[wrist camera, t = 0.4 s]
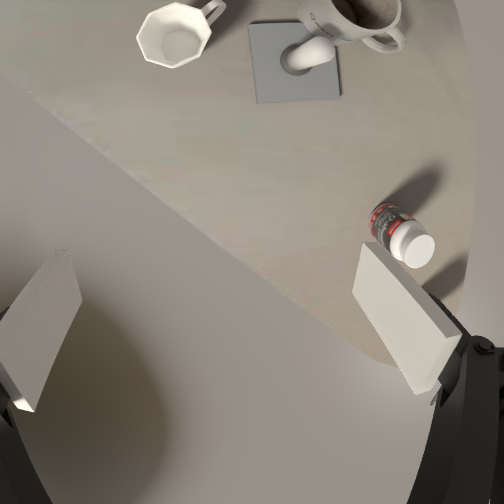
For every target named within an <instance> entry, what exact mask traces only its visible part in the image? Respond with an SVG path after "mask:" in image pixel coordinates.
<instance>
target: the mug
mask: <svg viewBox="0 0 504 504" xmlns="http://www.w3.org/2000/svg"><path fill="white" fill-rule="evenodd" d="M297 13H298V19H299V21H300V23H304V25H305V26H306V28H307V29H308V30H309V31H310V32H311V33H312V34H313V35H314V36H315V37H318V36H322V37H326V38H328V39H329V40H330V41H331V42H332V43H333V44H334V46H343V45H347V44H349V43H352V42H355V41H358V40H362V41H363V42H364V43H365V44H366V45H368V46H369V47H370V48H372V49H374V50H376V51H378V52H381V53H386V54H396V53H399V52H401V51H402V50H403V49H404V47H405V46H406V44H407V43H406V39H405V36H404V35H403V34H402V33H401V32H400V30H399V29H398V28H396V27H395V25H396V24H397V23H398V21H399V19H400V16H401V2H400V0H300V1H299V4H298V10H297ZM384 32H387V33H388V34H389V35H390V36H392V37H393V38H394V40H395V41H396V42H397V45H385V44H383V43H380V42H378V41H376V40H375V39H374V38H372V37H371V36H374V35H377V34H381V33H384Z"/></svg>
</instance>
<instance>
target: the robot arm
mask: <svg viewBox="0 0 504 504" xmlns="http://www.w3.org/2000/svg"><path fill="white" fill-rule="evenodd" d="M352 294H353V295H354V297H355V298H356V300H357V301H358V303H359V304H360V306H361V308H362V309H363V311H364V312H365V314H366V315H367V317H368V318H369V320H370V322H371V323H372V325H373V326H374V328H375V329H376V331H377V333H378V334H379V336H380V337H381V339H382V341H383V342H384V344H385V346H386V347H387V349H388V350H389V352H390V354H391V355H392V357H393V359H394V360H395V362H396V364H397V365H398V367H399V369H400V370H401V372H402V374H403V375H404V377H405V379H406V380H407V382H408V384H409V386H410V387H411V389H412V391H413V392H414V394H415V395H417V394H420V393H424V392H427V391H430V390H431V389H432V387H433V386H434V384H435V383H436V381H437V380H439V381H440V383H441V384H442V386H441V387H440V389H439V391H438V392H437V394H436V395H435V397H434V398H433V400H432V401H431V403H430V405H431V406H432V405H433V404H434V402H435V401H436V406H435V410H434V415H433V419H432V424H431V428H430V432H429V436H428V440H427V444H426V447H425V451H424V454H423V457H422V461H421V464H420V467H419V470H418V473H417V477H416V480H415V482H414V485H413V488H412V491H411V494H410V496H409V499H408V501H407V504H489V499H490V504H504V348H498V347H495V346H494V344H493V343H492V342H491V341H489V340H488V339H486V338H485V337H482V336H471V335H470V334H469V333H468V332H467V330H466V329H465V328H464V327H463V326H462V325H461V323H460V322H459V321H458V320H457V319H456V318H455V317H454V315H453V316H452V313H451V312H450V311H449V310H448V309H446V307H445V305H444V304H443V303H442V302H441V301H440V300H439V299H437V298H436V297H434V296H433V295H431V294H430V293H426V292H425V291H424V290H423V289H422V288H421V287H420V285H419V284H418V283H417V282H416V281H415V280H414V279H413V278H412V277H411V276H410V275H409V274H408V273H407V272H406V271H405V270H404V269H403V268H402V267H401V266H400V265H399V264H398V262H397V261H396V260H395V259H394V258H393V257H392V256H391V255H390V254H389V253H388V252H387V251H386V250H385V249H384V248H383V247H382V246H381V245H380V244H378V243H377V242H363V244H362V249H361V254H360V259H359V264H358V268H357V273H356V277H355V282H354V286H353V290H352ZM81 302H82V298H81V294H80V290H79V287H78V283H77V279H76V276H75V272H74V268H73V264H72V260H71V255H70V251H69V249H59V250H57V249H56V250H54V251H53V253H52V254H51V255H50V256H49V257H48V259H47V260H46V261H45V262H44V263H43V265H42V266H41V267H40V268H39V270H38V271H37V272H36V273H35V275H34V276H33V277H32V279H31V280H30V281H29V282H28V284H27V285H26V286H25V288H24V289H23V290H22V292H21V293H20V294H19V296H18V297H17V298H16V300H15V301H14V302H13V304H12V305H11V307H7V308H6V309H5V310H4V311H3V312H1V313H0V504H53V503H52V502H51V500H50V498H49V496H48V495H47V493H46V491H45V489H44V487H43V485H42V483H41V481H40V479H39V477H38V475H37V473H36V471H35V469H34V467H33V464H32V462H31V460H30V458H29V456H28V453H27V451H26V449H25V446H24V444H23V441H22V439H21V436H20V434H19V431H18V428H17V426H16V423H15V420H14V417H13V414H12V412H11V410H10V408H9V407H8V402H9V400H10V398H11V399H12V401H13V402H14V404H15V405H16V406H17V408H19V409H23V410H27V411H31V412H34V411H35V408H36V406H37V403H38V400H39V397H40V395H41V392H42V389H43V387H44V384H45V382H46V379H47V377H48V374H49V372H50V370H51V367H52V365H53V363H54V360H55V357H56V356H57V353H58V351H59V349H60V346H61V344H62V342H63V340H64V338H65V336H66V333H67V331H68V329H69V327H70V325H71V323H72V320H73V319H74V317H75V314H76V313H77V311H78V309H79V306H80V305H81Z"/></svg>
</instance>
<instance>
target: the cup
mask: <svg viewBox="0 0 504 504" xmlns="http://www.w3.org/2000/svg"><path fill="white" fill-rule="evenodd" d="M217 6H218V8H217V9H216V10H215V11H214V12H213V14H212V15H211V16H210V17H209V18H208V19H207V20H206V18H205V16H206V15H207V14H208V13H209V12H210V11H212V10H213V9H214V8H216V7H217ZM225 8H226V4H225V3H224V2H223V1H222V0H213V1H211V2H210V3H208V4H207V5H205V6H204V7H203V8H201V9H197V8H194V7H191V6H188V5H184V4H181V3H177V2H174V3H172V4H169V5H167V6H165V7H162V8H160V9H157V10H155V11H153V12H151V13H148V15H147V17H146V19H145V21H144V23H143V25H142V27H141V29H140V31H139V33H138V35H137V37H136V38H137V41H138V43H139V45H140V48H141V50H142V53H143V55H144V57H145V60H147V61H150V62H153V63H157V64H160V65H163V66H166V67H169V68H176V67H179V66H182V65H184V64H186V63H189V62H191V61H194V60H196V59H197V58H199V57H200V55H201V53H202V51H203V49H204V47H205V45H206V43H207V41H208V39H209V37H210V35H211V33H212V32H211V30H210V27H209V26H210V25H211V24H212V23H213V22H214V21H215V20H216V19H217V18H218V17H219V16H220V15H221V14H222V12H223V11H224V10H225Z"/></svg>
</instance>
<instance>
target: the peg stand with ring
mask: <svg viewBox="0 0 504 504" xmlns="http://www.w3.org/2000/svg"><path fill="white" fill-rule="evenodd" d="M247 27H248V35H249V42H250V50H251V58H252V66H253V74H254V82H255V90H256V99H257V104H264V103H275V102H288V101H304V100H330V99H340V94H339V83H338V72H337V63H336V54H335V46H334V44H333V43H332V42H331V41H330V40H329V39H328V38H326V37H322V36H318V37H315V36H314V35H313V34H312V33H311V32H310V31H309V30H308V29H307V28H306V26H305V25H304V23H265V24H249V25H248V26H247Z"/></svg>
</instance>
